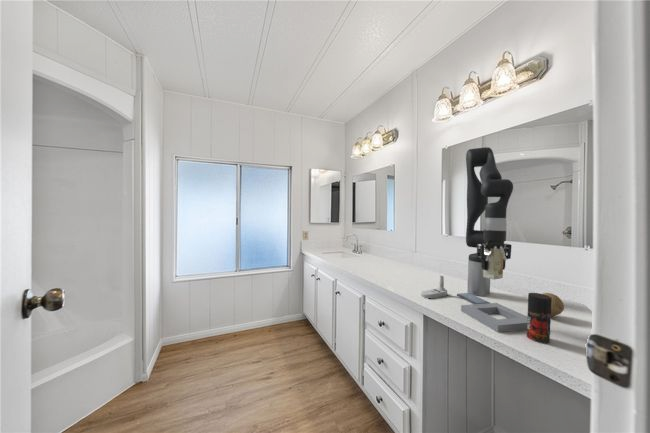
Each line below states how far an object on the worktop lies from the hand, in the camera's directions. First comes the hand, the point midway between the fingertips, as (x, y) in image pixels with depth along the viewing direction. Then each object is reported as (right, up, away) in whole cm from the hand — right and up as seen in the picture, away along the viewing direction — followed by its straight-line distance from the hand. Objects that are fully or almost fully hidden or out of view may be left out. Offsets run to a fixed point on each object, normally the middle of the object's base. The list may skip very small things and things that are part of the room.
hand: (493, 269), depth 98 cm
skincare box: (0, -4, 0) cm, 4 cm away
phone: (+4, -19, +20) cm, 28 cm away
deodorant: (+5, -21, -15) cm, 26 cm away
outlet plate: (+1, -20, 0) cm, 20 cm away
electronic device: (-13, -19, +25) cm, 34 cm away
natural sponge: (+24, -20, +2) cm, 32 cm away
